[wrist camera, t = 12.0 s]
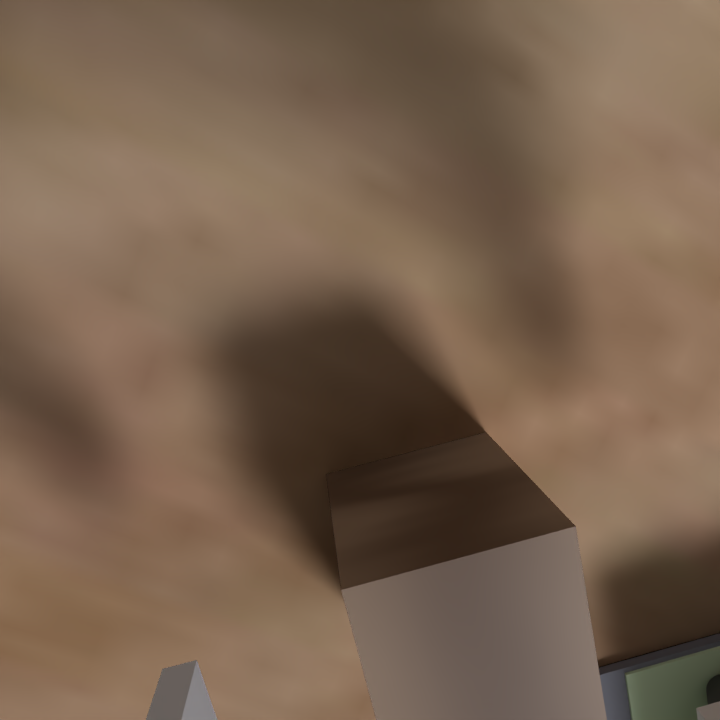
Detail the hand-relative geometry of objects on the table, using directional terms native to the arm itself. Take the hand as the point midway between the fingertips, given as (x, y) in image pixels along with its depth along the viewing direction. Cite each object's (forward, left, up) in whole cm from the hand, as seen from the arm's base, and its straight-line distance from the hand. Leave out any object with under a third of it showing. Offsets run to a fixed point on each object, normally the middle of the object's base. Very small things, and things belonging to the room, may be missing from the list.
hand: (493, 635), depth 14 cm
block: (0, 0, -5) cm, 5 cm away
